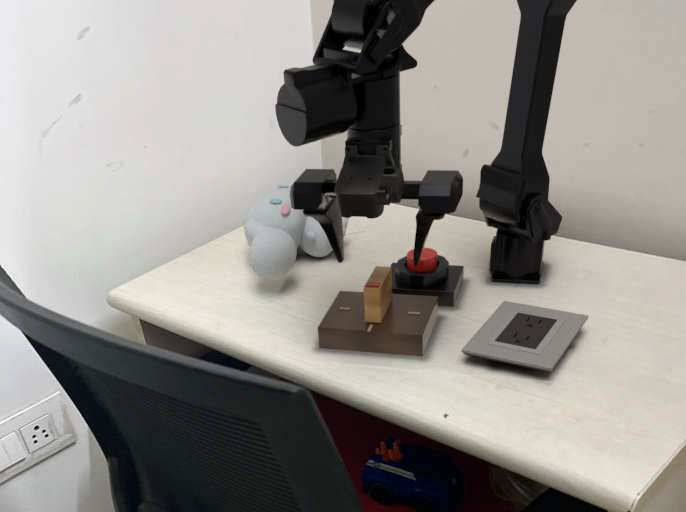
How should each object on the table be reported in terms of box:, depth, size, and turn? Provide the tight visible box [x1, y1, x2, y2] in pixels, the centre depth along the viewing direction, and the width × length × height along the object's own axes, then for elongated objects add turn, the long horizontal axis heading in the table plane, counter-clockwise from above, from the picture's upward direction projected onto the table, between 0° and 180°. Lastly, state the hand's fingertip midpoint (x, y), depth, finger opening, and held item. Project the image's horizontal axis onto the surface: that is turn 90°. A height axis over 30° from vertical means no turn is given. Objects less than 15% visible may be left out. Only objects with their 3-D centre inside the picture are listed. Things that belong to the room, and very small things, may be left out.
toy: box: [243, 179, 349, 280], centre depth 116 cm, size 30×10×15 cm
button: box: [406, 247, 438, 272], centre depth 102 cm, size 4×4×2 cm
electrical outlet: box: [461, 300, 589, 373], centre depth 91 cm, size 13×10×2 cm
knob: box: [363, 265, 392, 323], centre depth 94 cm, size 6×2×5 cm, turn 162°
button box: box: [389, 254, 465, 308], centre depth 104 cm, size 10×8×4 cm
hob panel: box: [317, 290, 439, 357], centre depth 97 cm, size 13×10×3 cm
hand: (378, 263), depth 92 cm, fingers open, 9 cm apart
